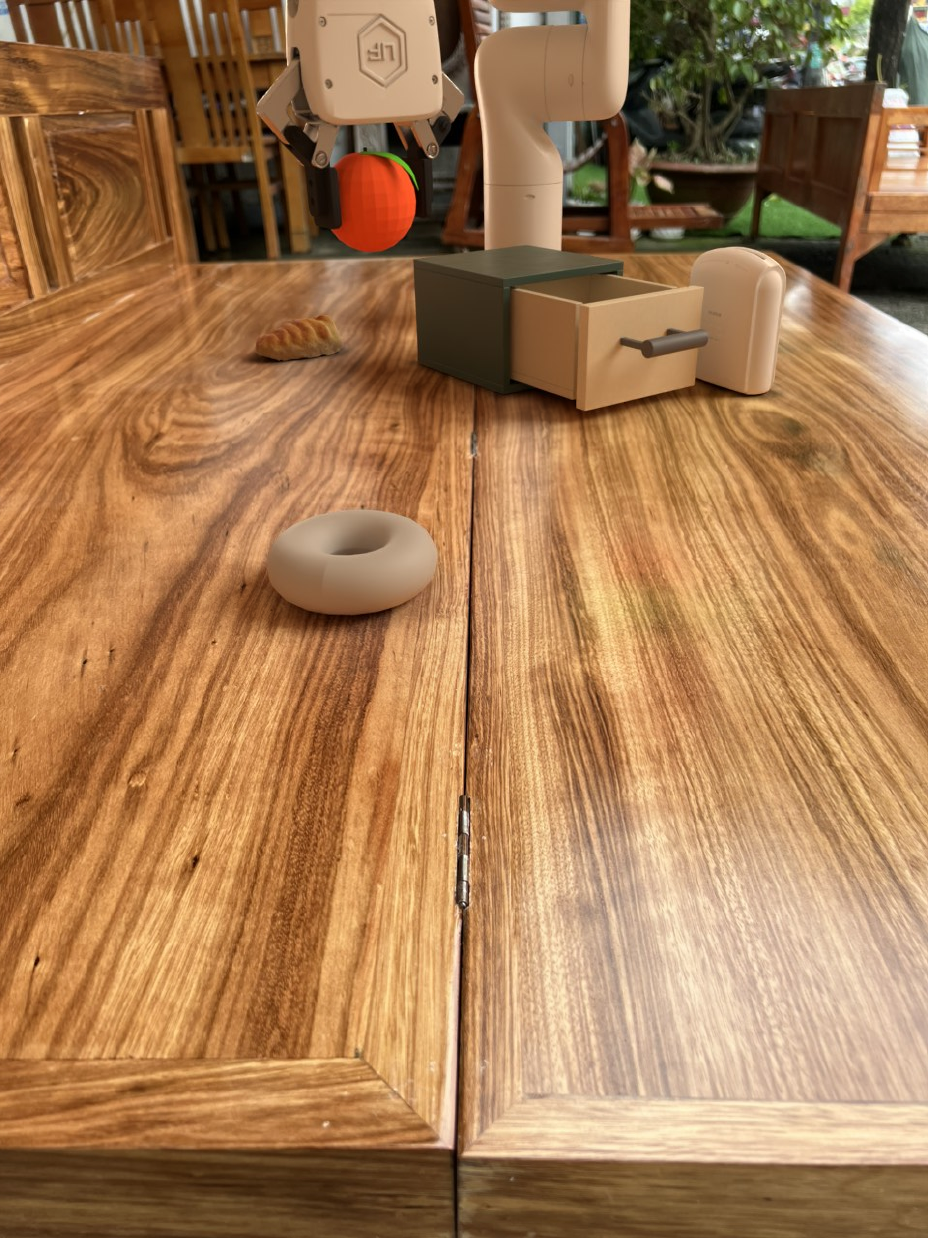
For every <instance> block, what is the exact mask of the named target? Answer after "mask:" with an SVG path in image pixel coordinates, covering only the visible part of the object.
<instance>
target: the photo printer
mask: <svg viewBox="0 0 928 1238" xmlns="http://www.w3.org/2000/svg"><path fill="white" fill-rule="evenodd" d="M689 286H699V287H704V290H703V301H702V312H701V322H700V329H704V330H705V331H706V332H707V334H708V342H707V344H706V345H705V346H704V347H699V348H698V354H697V365H696V376H695V379H698V380H701V381H704V382H707V383H710V384H713V385H716V386H719V387H722V388H725V389H728V390H732V391H735V392H738V393H741V394H744V395H760V394H764V393H767V392H769V391H770V389H771V388H773V386H774V383H775V378H776V377H775V376H776V368H777V362H778V361H777V360H778V351H779V343H780V335H781V328H782V327H781V326H782V319H783V313H784V305H785V304H784V303H785V296H786V288H787V277H786V272H785V270H784V268H783V267H782V265H781V264H780V263H779V262H777V261H776V260H775V259H773V258H772V257H771V256H768V255H767V254H766V253H763V252H761V251H758V250H756V249H753V248H749V247H744V246H727V247H719V248H715V249H711V250H708V251H705V252H703V253H701V254H700V255H699V256H698V257H697V258H696V259H695V261H694V263H693V264H692V267H691V270H690V274H689V285H688V287H689Z"/></svg>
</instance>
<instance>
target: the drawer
mask: <svg viewBox="0 0 928 1238" xmlns="http://www.w3.org/2000/svg"><path fill="white" fill-rule="evenodd" d="M703 290H704V287H699V286H689V285H688V286H683V287H678V286H675V285H671V284H665V283H659V282H654V281H649V280H643V279H637V278H633V277H627V276H623V277H622V276H617V275H612V274H606V273H599V274H592V275H585V276H579V277H572V278H565V279H559V280H552V281H545V282H539V283H532V284H525V285H519V286H512V287H510V379H513V380H516V381H519V382H522V383H525V384H528V385H531V386H534V387H537V389H539V390H542V391H545V392H548V393H551V394H554V395H556V396H560V397H563V398H566V399H569V400H572V401H573V400H575V401H576V403H575V404H576V407H575V408H576V409H577V410H580V411H583V412H587V411H592V410H596V409H600V408H605V407H608V406H609V407H610V406H613V405H617V404H623V403H624V402H629V401H634V400H638V399H642V398H646V397H651V396H656V395H658V394H659V395H660V394H663V393H667V392H672V391H676V390H680V389H684V388H688V387H693V386H696V385H695V384H696V378H695V376H696V365H697V354H698V348H699V347H704V346H705V345H706V344H707V342H708V334H707V332H706V331H705V330H704V329H700V322H701V312H702V301H703Z"/></svg>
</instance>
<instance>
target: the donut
mask: <svg viewBox="0 0 928 1238" xmlns="http://www.w3.org/2000/svg"><path fill="white" fill-rule="evenodd" d="M438 559H439V552H438V547H437V546H436V543H435V541H434V540H433V538H432V537H431V534H430V533H429V531H428V530H427V529H426V528H424V527H423V526H422V525H420V524H419V523H418V522H416V521H414V520H413V519H411V518H410V517H407V516H403V515H401V514H398V513H395V512H390V511H383V510H378V509H377V510H376V509H356V508H355V509H353V508H352V509H344V510H343V509H342V510H335V511H329V512H325V513H321V514H316V515H313V516H311V517H308V518H306V519H303V520H300V521H297V522H296V523H293V524H292V525H290V526H289V527H288V528H286V529H284V530H283V531H282V532H281V533H280V534H279V535H277V537H275V539H274V541H273V543H272V544H271V546H270V548H269V550H268V552H267V555H266V563H265V565H266V571H267V576H268V577H267V578H268V580H269V583H270V585H271V586H272V587H273V589H274V590H275V592H277V593H278V594H279V595H280V596H281V597H282V598H283V599H284V600H285V601H287V602H288V603H290V604H291V605H294V606H296V607H299V608H301V609H303V610H305V611H308V612H313V613H318V614H323V615H329V616H331V615H334V616H356V615H364V614H371V613H378V612H381V611H385V610H388V609H392V608H396V607H398V606H401V605H403V604H404V603H407V602H409V601H410V600H412V599H414V598H415V597H417V596H418V595H419V594H420V593H422V591H423V590H424V589H425V588H426V587H427V586H428V585H429V584H430V583H431V582H432V580H433V578H434V576H435V575H436V574H435V573H436V569H437V565H438Z"/></svg>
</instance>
